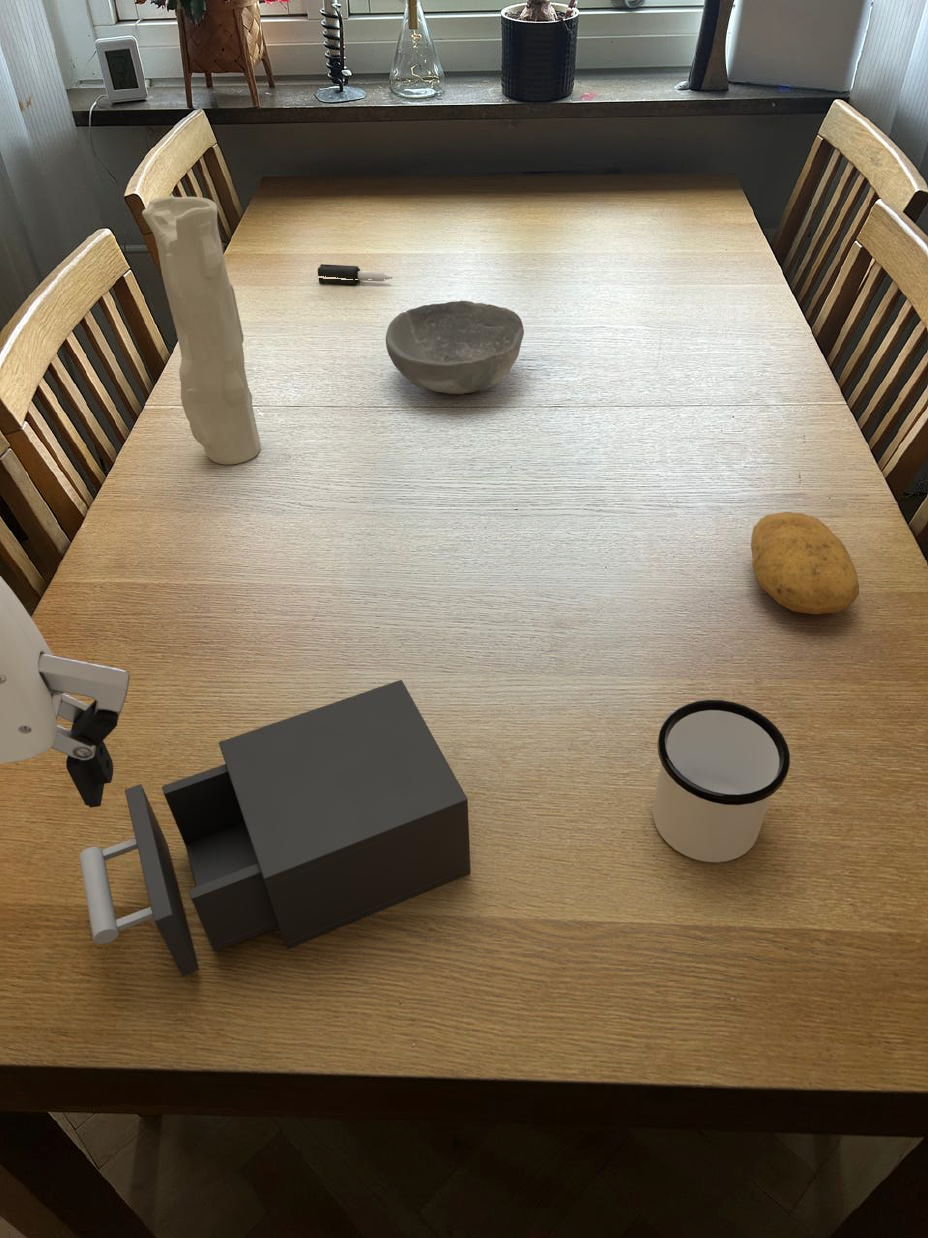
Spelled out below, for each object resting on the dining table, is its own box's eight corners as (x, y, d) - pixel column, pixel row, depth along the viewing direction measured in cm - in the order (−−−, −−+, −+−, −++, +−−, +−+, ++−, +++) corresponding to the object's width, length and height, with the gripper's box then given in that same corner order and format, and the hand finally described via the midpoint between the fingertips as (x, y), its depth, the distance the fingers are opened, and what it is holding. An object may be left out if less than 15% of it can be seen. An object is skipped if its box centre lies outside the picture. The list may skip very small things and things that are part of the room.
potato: (763, 635, 89) (778, 580, 84) (731, 551, 98) (743, 497, 93) (859, 631, 89) (880, 576, 84) (818, 547, 98) (834, 493, 93)
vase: (272, 463, 112) (221, 207, 92) (202, 478, 110) (133, 221, 90) (259, 427, 118) (208, 180, 98) (192, 441, 116) (125, 192, 96)
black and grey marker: (319, 284, 149) (391, 288, 147) (317, 269, 148) (390, 273, 146) (323, 277, 151) (395, 281, 149) (321, 262, 149) (393, 266, 148)
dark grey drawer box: (286, 950, 67) (263, 879, 60) (242, 816, 75) (218, 741, 69) (471, 873, 71) (468, 799, 64) (409, 755, 79) (401, 679, 73)
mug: (770, 878, 70) (797, 807, 64) (643, 862, 71) (657, 792, 65) (759, 753, 79) (781, 680, 72) (646, 741, 80) (658, 668, 74)
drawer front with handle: (119, 1003, 63) (84, 948, 58) (95, 870, 71) (62, 810, 66) (365, 903, 68) (353, 843, 63) (317, 788, 76) (304, 726, 71)
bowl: (362, 387, 125) (356, 331, 119) (448, 338, 134) (446, 284, 129) (463, 432, 116) (461, 373, 111) (548, 376, 126) (550, 320, 120)
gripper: (-385, 651, 37) (-173, 878, 49) (58, 600, 39) (160, 833, 51) (-301, 536, 43) (-128, 766, 54) (84, 496, 44) (171, 728, 56)
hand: (10, 798), depth 52 cm, fingers open, 9 cm apart
